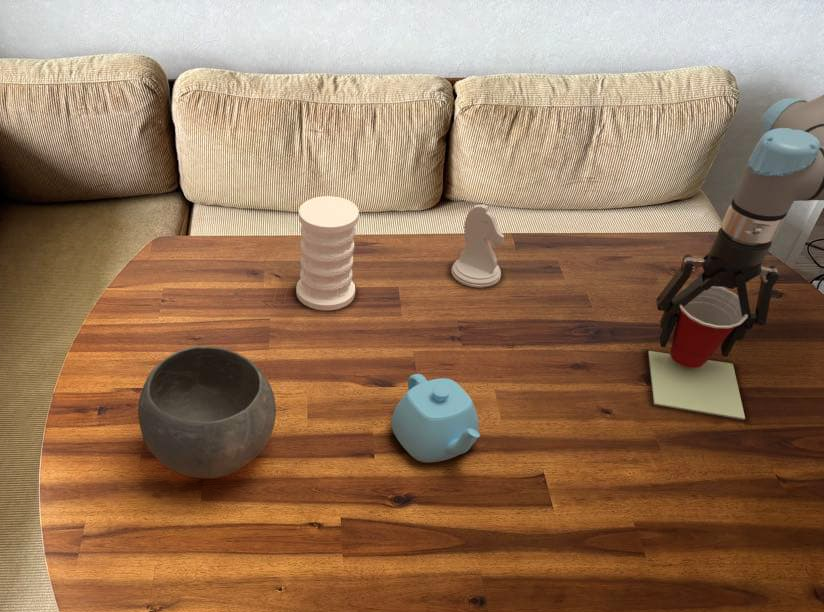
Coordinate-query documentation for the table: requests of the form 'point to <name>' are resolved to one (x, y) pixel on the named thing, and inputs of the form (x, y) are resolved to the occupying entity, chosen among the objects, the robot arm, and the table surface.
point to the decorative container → (327, 252)
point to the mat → (695, 386)
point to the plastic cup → (705, 326)
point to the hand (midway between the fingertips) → (692, 347)
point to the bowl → (206, 411)
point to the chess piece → (479, 250)
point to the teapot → (435, 419)
